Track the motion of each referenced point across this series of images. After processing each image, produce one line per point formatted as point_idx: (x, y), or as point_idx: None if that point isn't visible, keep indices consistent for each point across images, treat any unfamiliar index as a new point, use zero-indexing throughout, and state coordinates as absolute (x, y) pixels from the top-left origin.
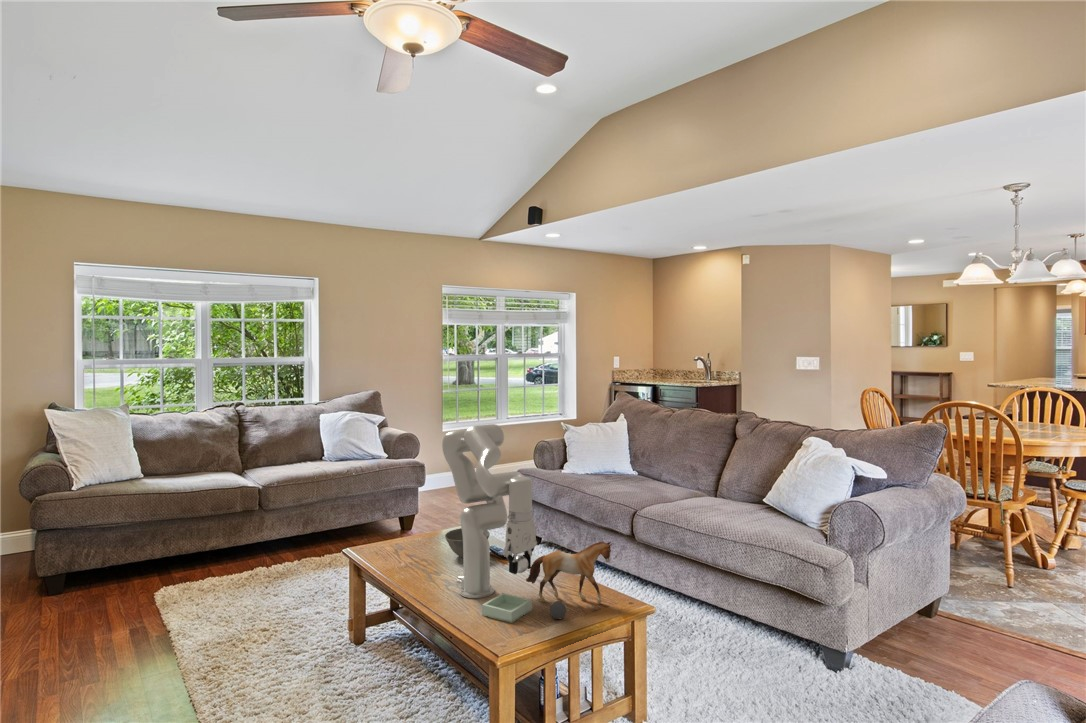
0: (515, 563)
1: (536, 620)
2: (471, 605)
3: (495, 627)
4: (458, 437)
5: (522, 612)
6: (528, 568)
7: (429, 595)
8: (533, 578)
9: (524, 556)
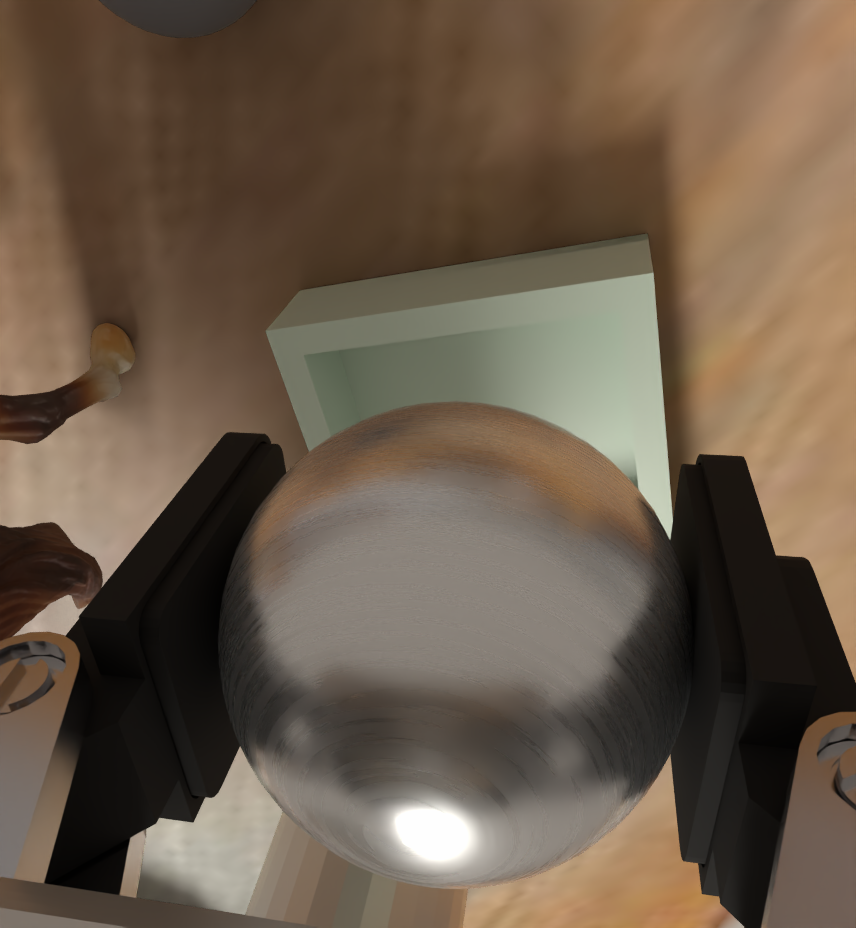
0: (794, 670)
1: (424, 77)
2: None
3: (824, 283)
4: None
5: (445, 278)
6: (279, 450)
7: (632, 894)
8: (47, 544)
9: (259, 739)
